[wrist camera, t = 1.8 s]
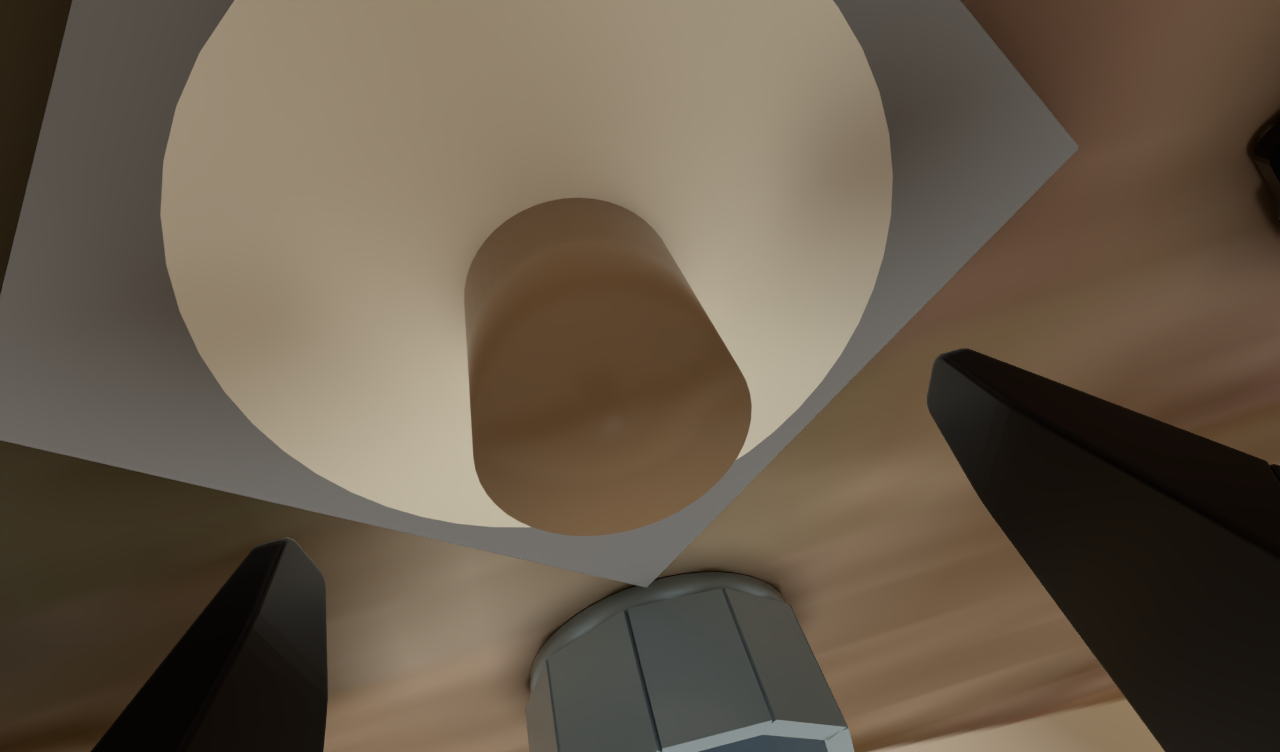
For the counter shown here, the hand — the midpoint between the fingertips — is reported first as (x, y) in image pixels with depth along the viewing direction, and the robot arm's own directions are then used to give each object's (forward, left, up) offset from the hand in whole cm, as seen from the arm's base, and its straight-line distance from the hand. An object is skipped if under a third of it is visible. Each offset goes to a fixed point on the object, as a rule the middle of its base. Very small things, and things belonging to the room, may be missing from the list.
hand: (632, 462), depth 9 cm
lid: (0, 0, -5) cm, 5 cm away
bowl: (+12, +12, -6) cm, 18 cm away
